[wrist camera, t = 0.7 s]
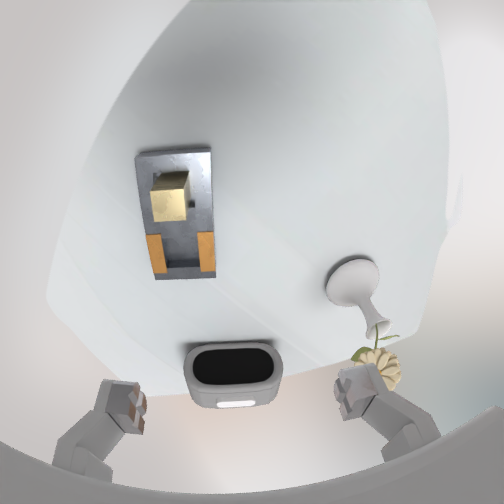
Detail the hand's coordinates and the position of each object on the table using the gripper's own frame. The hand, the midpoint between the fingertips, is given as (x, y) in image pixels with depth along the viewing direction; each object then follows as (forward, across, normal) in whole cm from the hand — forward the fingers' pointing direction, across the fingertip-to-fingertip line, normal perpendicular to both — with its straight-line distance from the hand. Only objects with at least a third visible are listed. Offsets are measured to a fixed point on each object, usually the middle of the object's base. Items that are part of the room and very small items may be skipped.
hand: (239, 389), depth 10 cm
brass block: (+31, +7, 0) cm, 32 cm away
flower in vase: (+35, -23, +20) cm, 46 cm away
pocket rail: (+33, +7, +5) cm, 34 cm away
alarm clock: (+37, +1, +40) cm, 54 cm away
